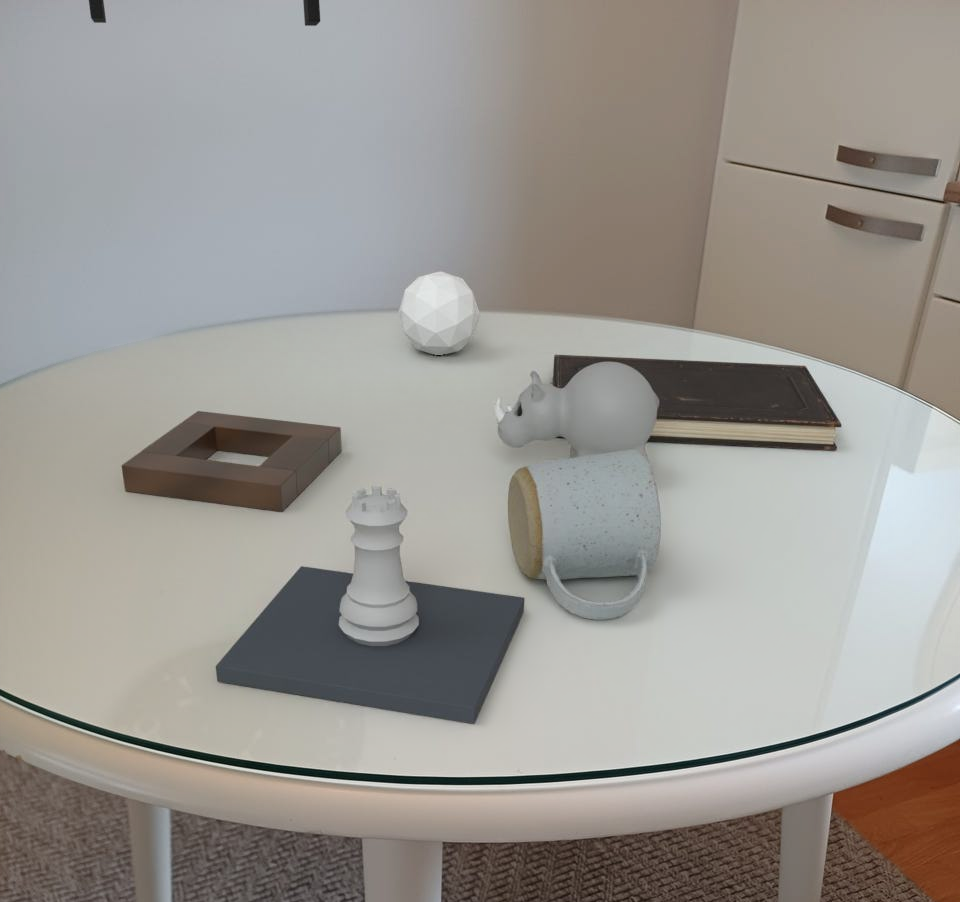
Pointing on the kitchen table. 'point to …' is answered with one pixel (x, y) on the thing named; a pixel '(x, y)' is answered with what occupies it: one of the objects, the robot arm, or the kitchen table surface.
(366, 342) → the kitchen table surface
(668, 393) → the hardcover book
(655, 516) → the ceramic mug
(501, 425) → the chubby cartoon animal
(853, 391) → the kitchen table surface
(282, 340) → the kitchen table surface
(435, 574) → the kitchen table surface
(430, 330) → the geometric ball
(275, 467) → the stand
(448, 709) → the mat
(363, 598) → the rook chess piece
